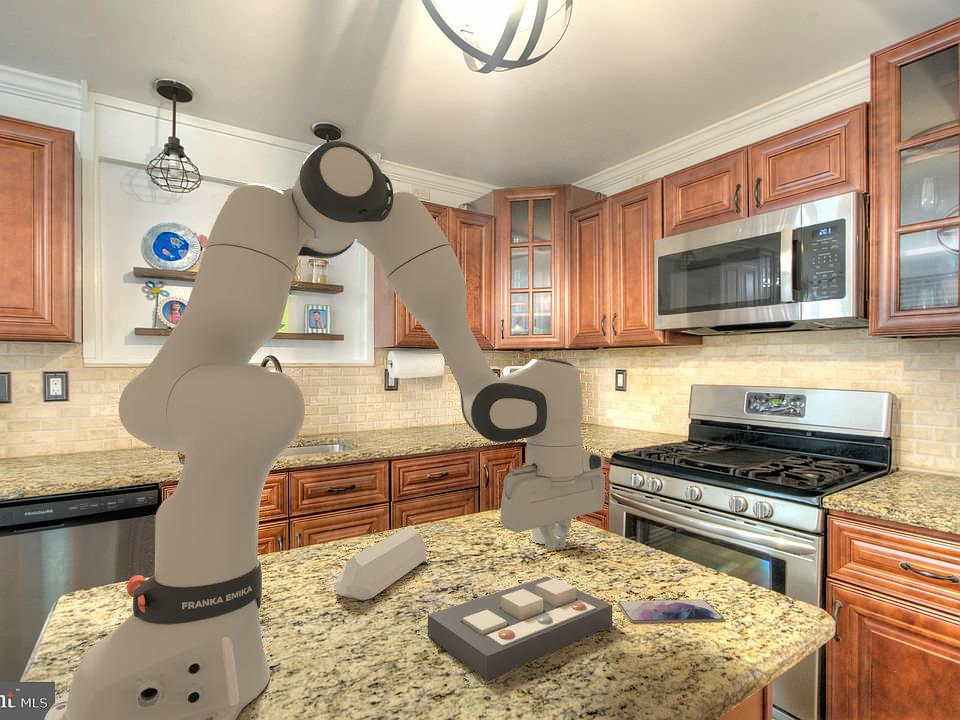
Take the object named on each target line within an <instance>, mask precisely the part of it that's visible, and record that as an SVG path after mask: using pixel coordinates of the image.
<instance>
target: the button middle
mask: <svg viewBox="0 0 960 720" xmlns="http://www.w3.org/2000/svg"><path fill="white" fill-rule="evenodd" d="M501 610H502V611H504V612H506V613H508V614H509V615H511V616H513V617H515V618H516V619H518V620H520V621H521V620H524V619H527V618H529V617H532V616H535V615H537V614H540V613H543V598H541V597H539V596H537V595H535V594H533V593H531V592H529V591H526V590H524V589H521V590H518V591H515V592H512V593H509V594H506V595H503V596H501Z"/></svg>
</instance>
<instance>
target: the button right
mask: <svg viewBox="0 0 960 720" xmlns="http://www.w3.org/2000/svg"><path fill="white" fill-rule="evenodd" d="M576 587H577V586H574V585H571V584H570V583H567V582H565V581H563V580H560V579H558V578H552V580H549V581H546V582H543V583H540V584H537V585H536V595H537V596H539V597H541V598H543V602H545V603H547V604H549V605H551V606H553V607H559V606H561V605H564V604H567V603H569V602H572V601H575V600H576V589H577V588H576Z"/></svg>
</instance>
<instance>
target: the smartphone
mask: <svg viewBox="0 0 960 720" xmlns="http://www.w3.org/2000/svg"><path fill="white" fill-rule="evenodd" d="M617 607H618V608H619V609H620V611H621V612H622V613H623V615H624V617H625V618H626V619H627V621H628V622H629V623H630V624H633V625H634V624H636V625H638V624H674V623H675V624H677V623H679V624H680V623H681V624H683V623H685V624H686V623H718V622H725V617H724V616H723V615H722V614H721V613H719V612H718V611H717V610H716V609H715V608H714V607H713V606H712V605H711V604H710V603H709V602H708V601H706V600H705V599H701V598H700V599H660V600H659V599H658V600H657V599H653V600H650V599H649V600H619V601H617Z"/></svg>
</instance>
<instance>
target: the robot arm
mask: <svg viewBox="0 0 960 720" xmlns="http://www.w3.org/2000/svg"><path fill="white" fill-rule="evenodd" d="M388 186H389V187H388ZM355 241H356V243H357V244H359V245H362V246H363V247H364V248H366V250H368V251H369V253H371V254H372V255H373V258H375V260H377V262H378V264H379V266H380V268H381V270H382V272H383V274H384V277H385V278H386V280H387V281H388V284H389V286H390V287H391V289H392V290H393V292H394V293H395V295H396V296H397V298H398V299H399V300H400V302H401V303H402V305H403V306H404V307H405V309H406V310H407V311H408V313H409V314H410V315H411V316H412V317H413V318H414V319H415V320H416V321H417V323H418V324H419V325H420V326H421V327H422V328H423V329H424V330H425V331H426V333H427V334H428V335H429V336H430V338H432V340H433V342H435V344H436V345H437V347H438V349H439V350H440V353H441V355H442V357H443V358H444V360H445V362H446V364H447V366H448V368H449V369H450V371H451V374H452V375H453V377H454V380H455V381H456V384H457V387H458V389H459V392H460V393H459V394H460V405H461V407H460V408H461V413H462V416H463V417H462V418H463V419H464V421H465V422H466V424H467V426H468V427H469V428H470V429H472V430H473V432H475V433H477V434H479V435H480V436H481V437H482V438H484V439H485V440H487V441H489V442H493V443H499V444H502V443H503V444H505V443H510V442H514V441H519V440H523V439H526V465H524V466H514V467H512V468H511V469H510V471H509V472H508V473H507V474H506V476H504V478H503V488H502V494H501V500H500V501H501V504H500V513H499V514H500V518H499V520H500V523H501V525H502V526H503V528H504V529H506V530H508V531H511V532H513V533H516V534H517V533H523V532H526V531H530V529H534V528H538V527H539V529H540V531H541V533H542V534H543V536H544V538H545V545H544V548H545V550H547V551H550V552H554V551H556V550H560V549H564V548H566V543H567V539H566V537H567V535H568V533H569V530H570V528H571V526H572V519H573V518H579V517H581V516H585V515H588V514H592V513H596V512H599V511H601V510H602V509H603V506H604V504H605V500H606V499H605V498H606V489H605V488H606V487H605V484H606V483H605V474H604V472H603V470H602V469H603V468H604V466H605V456H604V455H603V454H602V455H601V454H599V453H597V452H592V451H589V450H586V449H584V447H583V446H584V443H583V442H584V441H583V436H582V433H581V423H582V419H583V392H582V383H581V377H580V373H579V371H578V369H577V368H576V366H574V365H573V364H572V363H570V362H568V361H565V360H560V359H554V358H547V357H535V358H532V359H531V360H530V361H529V362H528V363H527V364H525V365H523V366H522V367H520V368H518V369H517V370H515V371H513V372H512V371H511V373H508V374H507V375H504V376H499V375H497V374H496V373H495V372H494V370H493V368H491V366H490V364H489V363H488V361H487V358H486V357H485V355H484V353H483V351H482V348H481V347H480V345H479V343H478V341H477V339H476V337H475V335H474V333H473V330H472V328H471V325H470V322H469V319H468V318H469V317H468V311H467V306H468V305H467V301H468V300H467V298H468V288H467V287H468V285H467V282H466V278H465V276H464V273H463V270H462V267H461V264H460V262H459V259H458V257H457V256H456V253H455V251H454V249H453V248H452V246H451V244H450V242H449V241H448V239H447V237H446V235H445V233H444V232H443V229H441V227H440V226H439V224H438V222H437V220H436V219H434V217H433V215H432V214H431V213H430V211H429V210H428V209H427V208H426V206H425V205H424V204H423V202H422V201H421V200H420V199H419V197H417V196H416V195H414V194H413V193H410V192H409V191H408V192H407V191H395V192H394V187H393V184H392V182H391V179H390V177H388V176H387V175H386V174H385V173H383V172H382V170H381V168H380V167H379V165H378V164H377V163H376V162H375V160H374V159H372V157H371V156H370V155H368V153H366V152H365V151H364V150H362V149H361V148H359V147H358V146H356V145H354V144H352V143H350V142H346V141H342V140H330V141H327V142H323V143H322V144H321V145H319V146H316V148H315V149H313V150H312V151H311V152H310V153H309V155H308V156H307V157H306V158H305V160H304V161H303V163H302V164H301V167H300V171H299V174H298V176H297V178H296V180H295V182H294V185H293V186H292V188H291V187H289V188H287V189H276V188H274V187H272V186H269V185H266V184H261V183H260V184H259V183H248V184H247V183H246V184H243V185H240V186H239V187H236V188H234V190H233V191H231V193H230V194H229V196H228V197H227V199H226V200H225V202H224V204H223V205H222V207H221V209H220V211H219V212H218V215H217V217H216V219H215V221H214V223H213V226H212V228H211V230H210V233H209V235H208V238H207V240H206V245H205V247H204V251H203V253H202V256H201V260H200V263H199V267H198V269H197V273H196V276H195V279H194V282H193V285H192V288H191V290H190V291H191V292H190V294H189V298H188V300H187V303H186V305H185V308H184V309H183V311H182V313H181V316H180V317H179V319H178V320H177V322H176V325H175V326H174V327H173V329H172V330H171V333H170V334H169V335H168V336H167V339H166V340H165V342H164V343H163V345H162V346H161V348H160V349H159V350H158V352H157V354H156V355H155V357H154V358H153V360H151V362H150V363H149V365H148V366H147V367H146V368H145V369H144V370H142V372H140V373H139V374H137V376H135V377H133V378H132V379H131V380H130V381H129V382H128V383H127V384H126V386H125V387H124V389H123V390H122V393H121V394H120V398H119V401H118V416H119V419H120V423H121V424H122V426H123V428H124V429H125V431H127V432H128V433H129V435H131V436H132V437H134V438H135V439H137V440H139V441H141V442H142V443H144V444H146V445H149V446H151V447H153V448H156V449H158V450H162V451H168V452H169V451H170V452H177V453H184V461H183V466H182V471H181V474H180V477H179V480H178V483H177V486H176V488H175V489H174V491H173V493H172V494H170V495H169V496H168V497H167V498H166V499H165V500H163V501H162V502H161V504H160V505H159V507H158V509H157V510H156V514H155V515H156V516H155V535H154V537H155V540H154V541H155V543H154V544H155V545H154V551H155V553H154V574H153V575H151V576H150V577H149V578H148V579H146V577H144V575H140V574H139V575H134V576H131V578H129V580H128V581H127V582H126V585H125V586H126V592H127V595H128V596H130V597H131V598H132V611H133V613H132V614H131V615H130V616H128V617H127V618H126V619H125V620H124V621H123V622H121V623H120V624H118V626H116V628H114V629H113V630H112V631H111V632H110V633H108V634H107V635H105V637H103V638H102V639H101V640H99V641H98V642H97V643H96V644H95V645H93V646H92V647H91V648H89V649H88V651H87V652H86V653H84V655H83V657H82V658H81V660H80V661H79V663H78V666H77V668H76V670H75V673H74V675H73V678H72V681H71V683H70V688H69V692H67V693H65V694H63V695H62V696H61V697H60V698H59V699H58V700H57V701H55V702H54V704H52V706H51V707H50V708H49V710H48V711H47V713H46V714H45V716H44V719H43V720H236V719H237V718H238V716H239V715H240V713H241V711H242V710H243V708H245V707H246V706H247V705H248V704H249V703H251V702H252V701H253V700H254V699H256V698H257V697H258V696H259V695H260V694H261V693H262V692H263V690H265V688H267V685H268V683H269V681H270V678H271V669H270V666H269V663H268V661H267V656H266V653H265V652H266V651H265V649H264V643H263V638H262V637H263V636H262V631H261V629H262V628H261V621H260V610H259V609H261V602H262V597H263V572H262V564H261V563H262V562H260V561H259V558H258V554H259V551H258V549H259V525H260V524H259V521H260V507H261V502H262V501H261V500H262V496H263V493H264V492H263V491H264V488H265V485H266V482H267V479H268V476H269V474H270V471H271V469H272V468H273V466H274V464H275V462H276V460H277V459H278V457H279V456H280V455H281V454H282V453H283V452H284V451H285V450H287V448H289V447H290V446H291V445H293V443H294V442H295V440H296V439H297V438H298V436H299V434H300V432H301V430H302V428H303V424H304V421H305V416H306V406H305V400H304V395H303V392H302V390H301V388H300V387H299V385H298V383H297V382H296V381H295V380H294V379H293V378H292V377H291V376H290V375H288V374H286V373H284V372H281V371H278V370H275V369H272V368H268V367H266V366H261V365H258V364H251V363H249V362H251V360H252V358H253V356H254V355H256V353H257V351H259V350H260V348H261V347H262V346H263V345H265V344H266V343H268V342H269V341H270V340H271V339H273V338H274V337H275V336H276V335H277V333H278V332H279V330H280V328H281V326H282V322H283V318H284V316H285V315H284V314H285V311H286V310H285V309H286V306H287V301H288V298H289V294H290V291H291V286H292V282H293V278H294V274H295V269H296V265H297V261H298V258H299V257H310V258H314V259H322V260H323V259H325V260H326V259H332V258H336V257H338V256H340V255H342V254H343V253H345V252H346V251H347V250H349V249H350V248H351V247H352V246H353V244H354V242H355ZM555 523H557V524H558V525H557V528H556V531H555V535H554V534H553V531H552V530H554V529H555Z"/></svg>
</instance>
